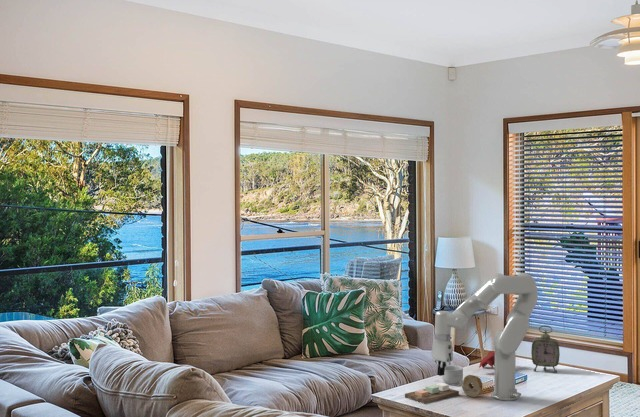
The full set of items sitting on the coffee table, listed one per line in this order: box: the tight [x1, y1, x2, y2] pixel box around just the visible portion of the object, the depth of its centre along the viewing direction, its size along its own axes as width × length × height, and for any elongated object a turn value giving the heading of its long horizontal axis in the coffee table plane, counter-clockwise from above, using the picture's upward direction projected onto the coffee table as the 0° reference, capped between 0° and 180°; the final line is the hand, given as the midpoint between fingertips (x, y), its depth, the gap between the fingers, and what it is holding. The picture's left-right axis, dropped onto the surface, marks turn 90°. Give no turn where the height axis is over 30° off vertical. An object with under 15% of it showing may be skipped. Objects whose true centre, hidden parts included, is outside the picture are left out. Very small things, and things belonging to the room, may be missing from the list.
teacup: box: [441, 364, 464, 385], centre depth 356 cm, size 14×11×8 cm
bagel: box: [461, 374, 484, 398], centre depth 332 cm, size 10×4×10 cm, turn 43°
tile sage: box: [424, 384, 439, 394], centre depth 331 cm, size 4×4×2 cm
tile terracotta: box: [414, 389, 428, 397], centre depth 327 cm, size 4×4×2 cm
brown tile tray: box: [404, 387, 460, 404], centre depth 331 cm, size 12×24×2 cm, turn 127°
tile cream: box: [435, 382, 450, 391], centre depth 335 cm, size 4×4×2 cm
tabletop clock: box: [530, 324, 560, 374], centre depth 381 cm, size 14×9×25 cm, turn 73°
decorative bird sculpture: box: [478, 350, 495, 371], centre depth 384 cm, size 28×9×15 cm
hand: (440, 375), depth 335 cm, fingers closed
